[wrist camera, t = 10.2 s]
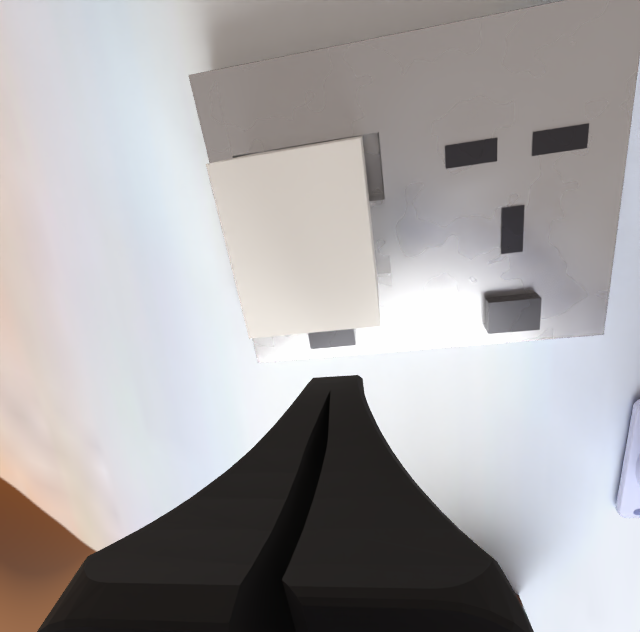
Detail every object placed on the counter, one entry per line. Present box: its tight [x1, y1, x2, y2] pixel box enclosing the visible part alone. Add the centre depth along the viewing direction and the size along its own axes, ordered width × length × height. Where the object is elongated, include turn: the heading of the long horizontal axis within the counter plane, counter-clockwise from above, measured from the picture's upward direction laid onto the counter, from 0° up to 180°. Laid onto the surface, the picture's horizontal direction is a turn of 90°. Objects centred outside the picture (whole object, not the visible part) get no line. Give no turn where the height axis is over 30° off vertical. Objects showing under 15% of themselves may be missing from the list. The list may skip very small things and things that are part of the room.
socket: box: [189, 0, 640, 363], centre depth 17 cm, size 15×12×3 cm
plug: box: [206, 136, 381, 339], centre depth 15 cm, size 4×6×6 cm
